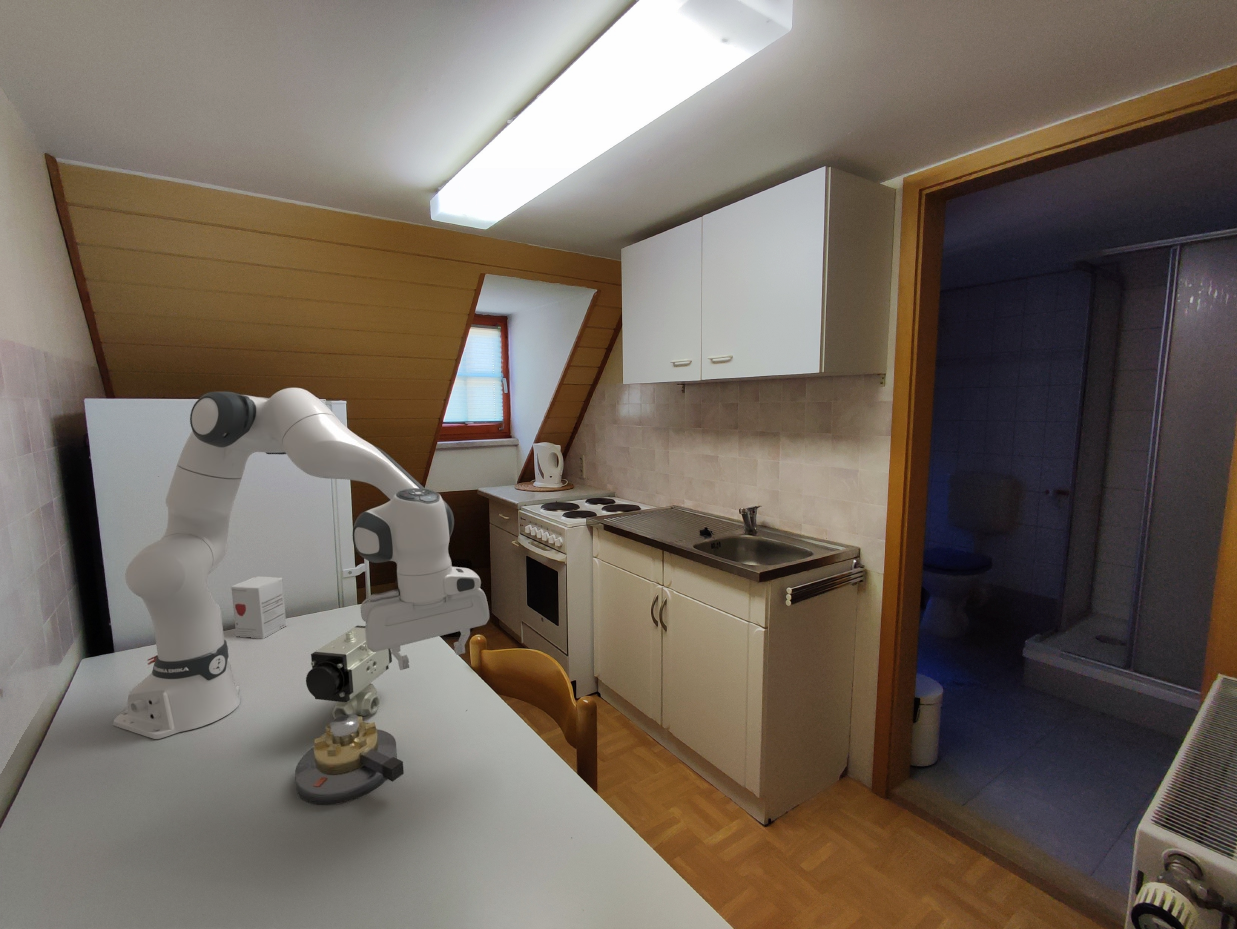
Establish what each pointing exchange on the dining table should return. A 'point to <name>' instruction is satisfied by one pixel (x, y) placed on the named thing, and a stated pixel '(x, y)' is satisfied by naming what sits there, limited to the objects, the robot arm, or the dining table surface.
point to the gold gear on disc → (347, 784)
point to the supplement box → (258, 607)
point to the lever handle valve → (355, 754)
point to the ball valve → (348, 673)
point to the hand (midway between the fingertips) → (432, 660)
